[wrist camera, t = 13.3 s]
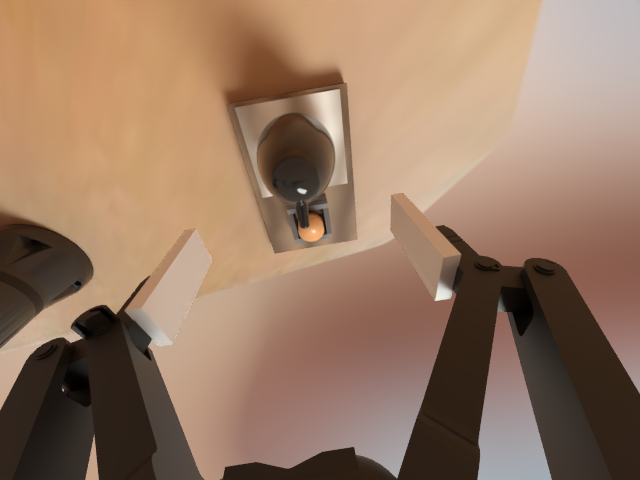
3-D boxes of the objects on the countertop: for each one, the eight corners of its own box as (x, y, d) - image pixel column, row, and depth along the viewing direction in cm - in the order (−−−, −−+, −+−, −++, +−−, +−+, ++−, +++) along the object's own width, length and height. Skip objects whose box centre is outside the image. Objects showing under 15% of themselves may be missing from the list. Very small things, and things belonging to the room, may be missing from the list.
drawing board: (275, 247, 47) (273, 265, 42) (229, 103, 33) (218, 106, 28) (355, 233, 46) (361, 250, 42) (344, 83, 32) (351, 83, 28)
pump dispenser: (271, 188, 37) (257, 241, 25) (252, 115, 32) (222, 137, 19) (334, 178, 37) (353, 227, 25) (327, 103, 32) (347, 118, 19)
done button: (300, 233, 40) (301, 243, 37) (295, 212, 38) (295, 222, 35) (323, 229, 40) (325, 239, 37) (320, 208, 38) (322, 217, 35)
